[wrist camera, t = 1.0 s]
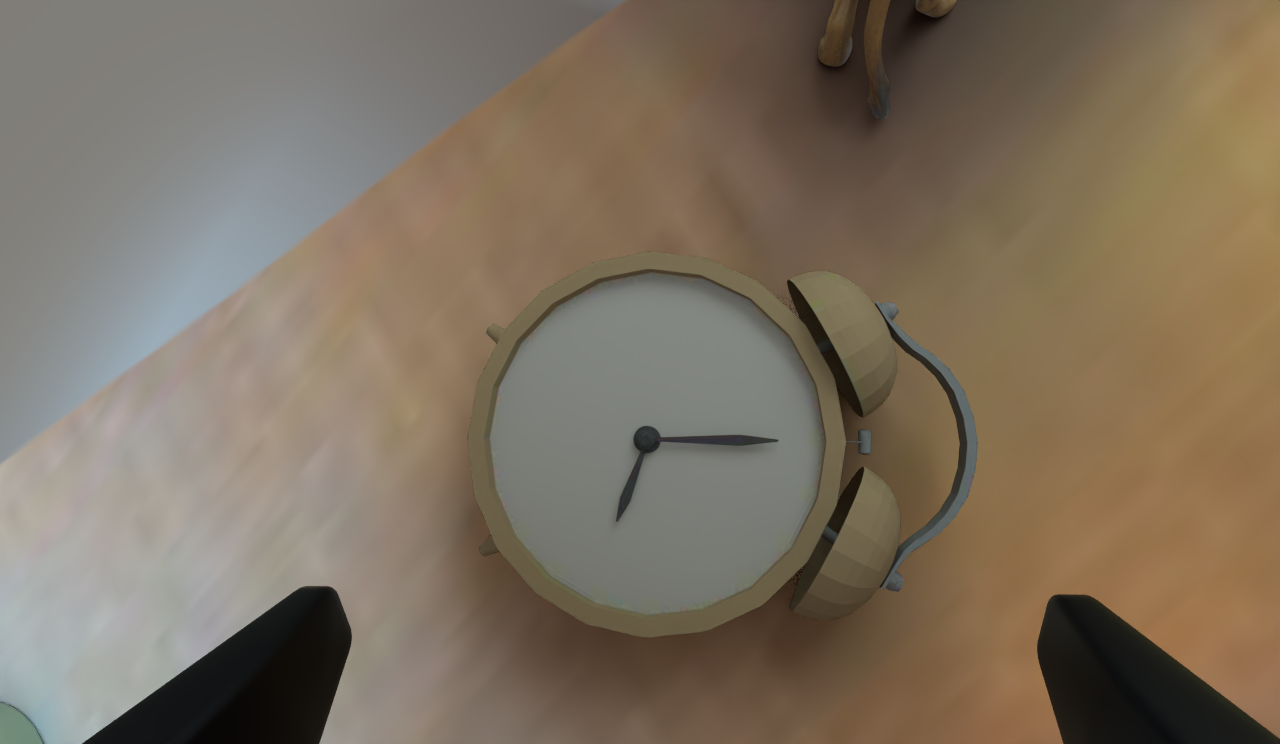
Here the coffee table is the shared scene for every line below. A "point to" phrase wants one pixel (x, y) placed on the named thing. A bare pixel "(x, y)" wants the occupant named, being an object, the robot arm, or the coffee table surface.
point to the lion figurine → (868, 42)
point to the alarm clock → (694, 445)
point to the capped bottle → (16, 727)
